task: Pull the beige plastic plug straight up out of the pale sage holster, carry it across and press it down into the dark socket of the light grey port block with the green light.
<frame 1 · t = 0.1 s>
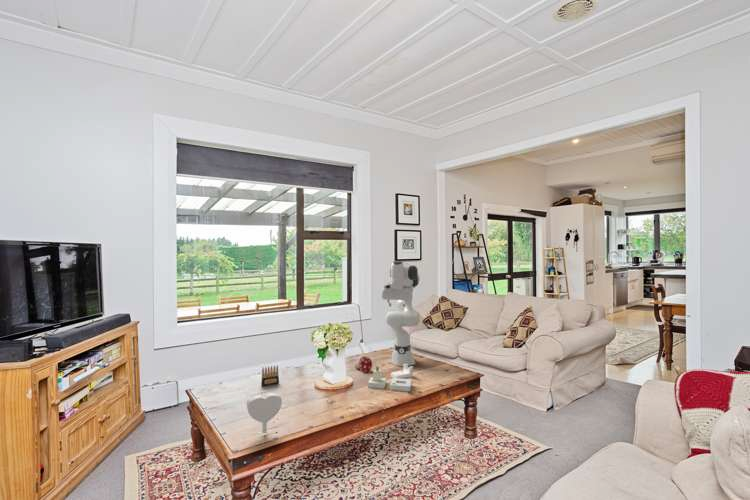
hand: (397, 306, 250), 48 cm above the table, tool pointing down, fingers open, 8 cm apart
plug: (377, 384, 236), point 1 cm above the table, touching holster
dark red lumpy cluster: (363, 370, 266), on the table
bracket: (401, 378, 252), on the table
port: (401, 388, 233), on the table
holster: (377, 386, 236), on the table
ammunition clip: (270, 385, 239), on the table
heart sculpture: (264, 433, 178), on the table
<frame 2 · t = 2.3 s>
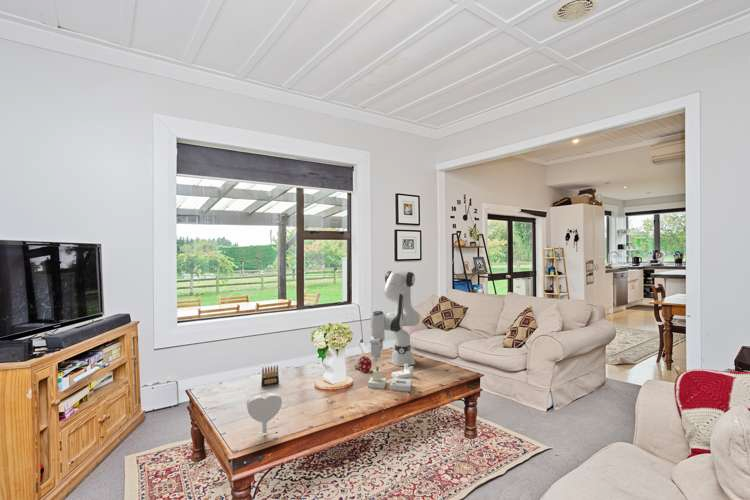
hand: (377, 359, 236), 17 cm above the table, tool pointing down, fingers open, 8 cm apart
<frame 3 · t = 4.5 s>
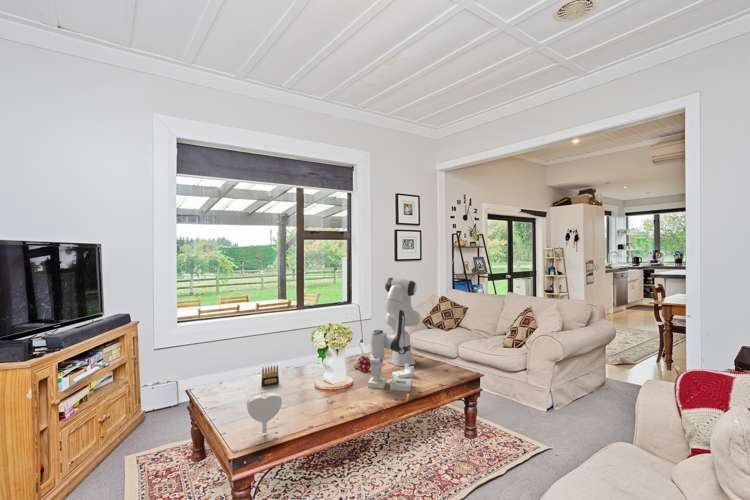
hand: (377, 378, 236), 5 cm above the table, tool pointing down, fingers closed on plug, 3 cm apart
plug: (377, 384, 236), point 1 cm above the table, touching gripper, holster
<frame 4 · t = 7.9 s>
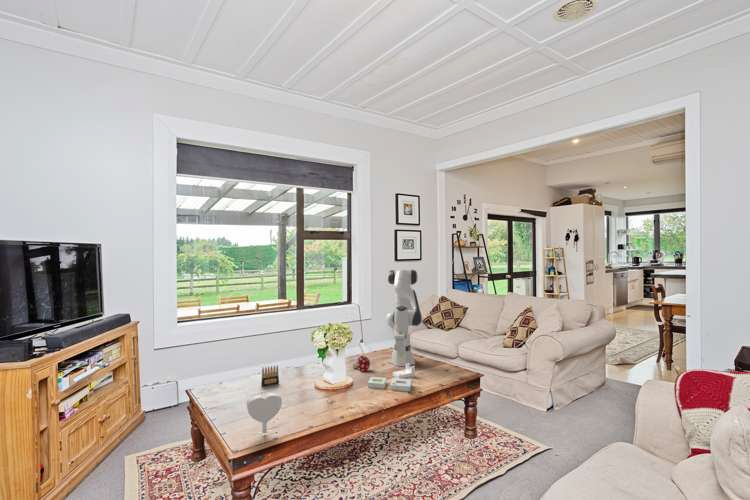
hand: (401, 355, 233), 21 cm above the table, tool pointing down, fingers closed on plug, 3 cm apart
plug: (401, 361, 233), point 17 cm above the table, touching gripper
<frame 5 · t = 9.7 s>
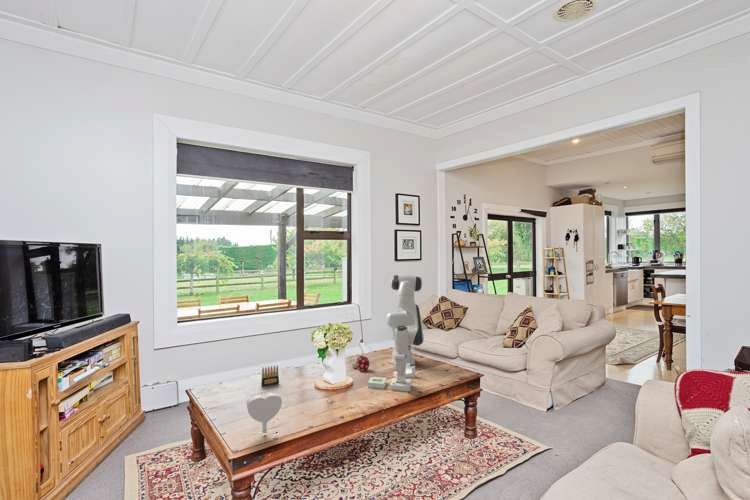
hand: (401, 374, 233), 8 cm above the table, tool pointing down, fingers closed on plug, 3 cm apart
plug: (401, 381, 233), point 4 cm above the table, touching gripper
when the fingers open (5 cm above the table, at t = 11.5 s): plug stays where it is, resting on port.
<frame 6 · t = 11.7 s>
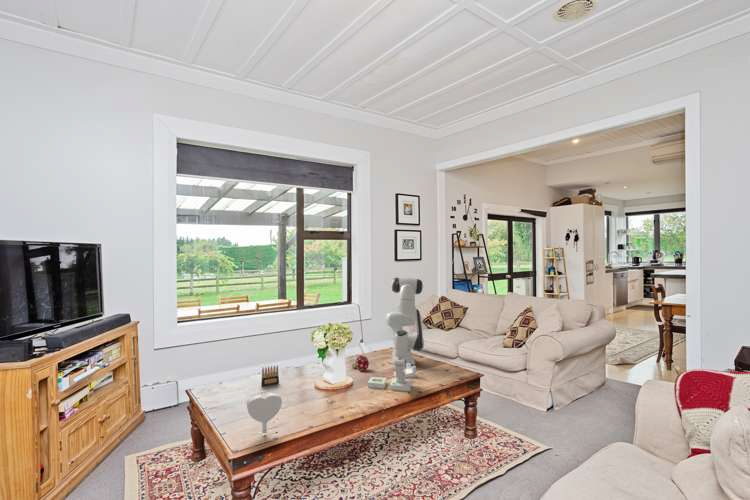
hand: (401, 380, 233), 5 cm above the table, tool pointing down, fingers open, 5 cm apart
plug: (401, 386, 233), point 1 cm above the table, touching port
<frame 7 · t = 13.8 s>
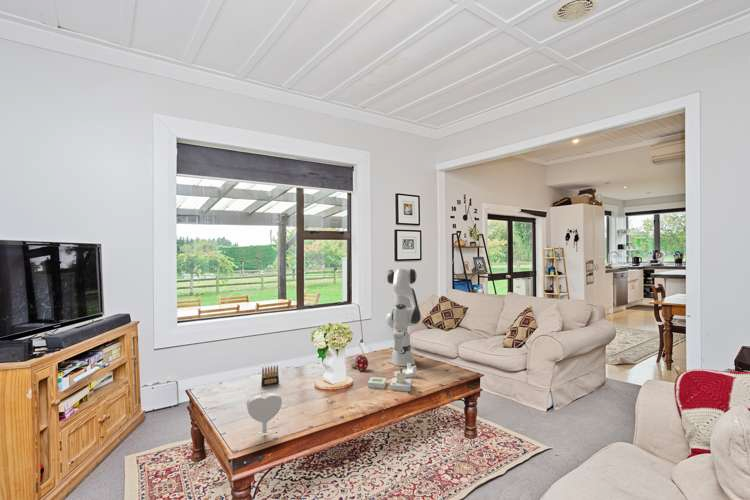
hand: (400, 352, 234), 22 cm above the table, tool pointing down, fingers open, 8 cm apart
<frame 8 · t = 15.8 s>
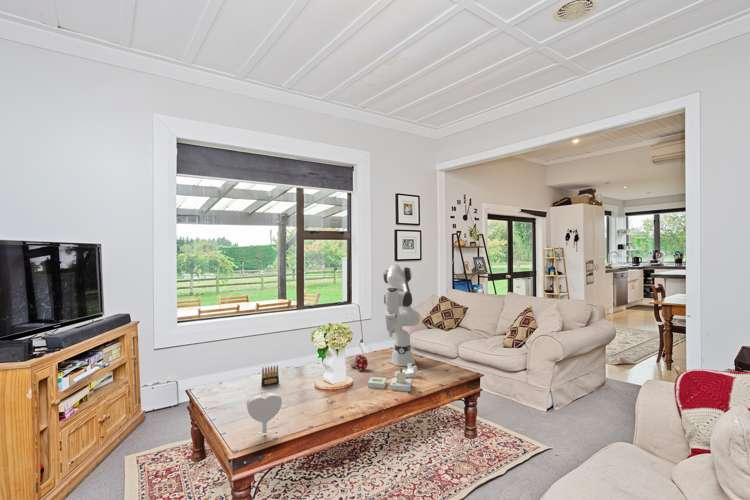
hand: (392, 334, 242), 31 cm above the table, tool pointing down, fingers open, 8 cm apart
at the end: plug 0.1 cm off-centre on the port, point 1.0 cm above the port's base; plug tilted 0°; the gripper is holding nothing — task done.
